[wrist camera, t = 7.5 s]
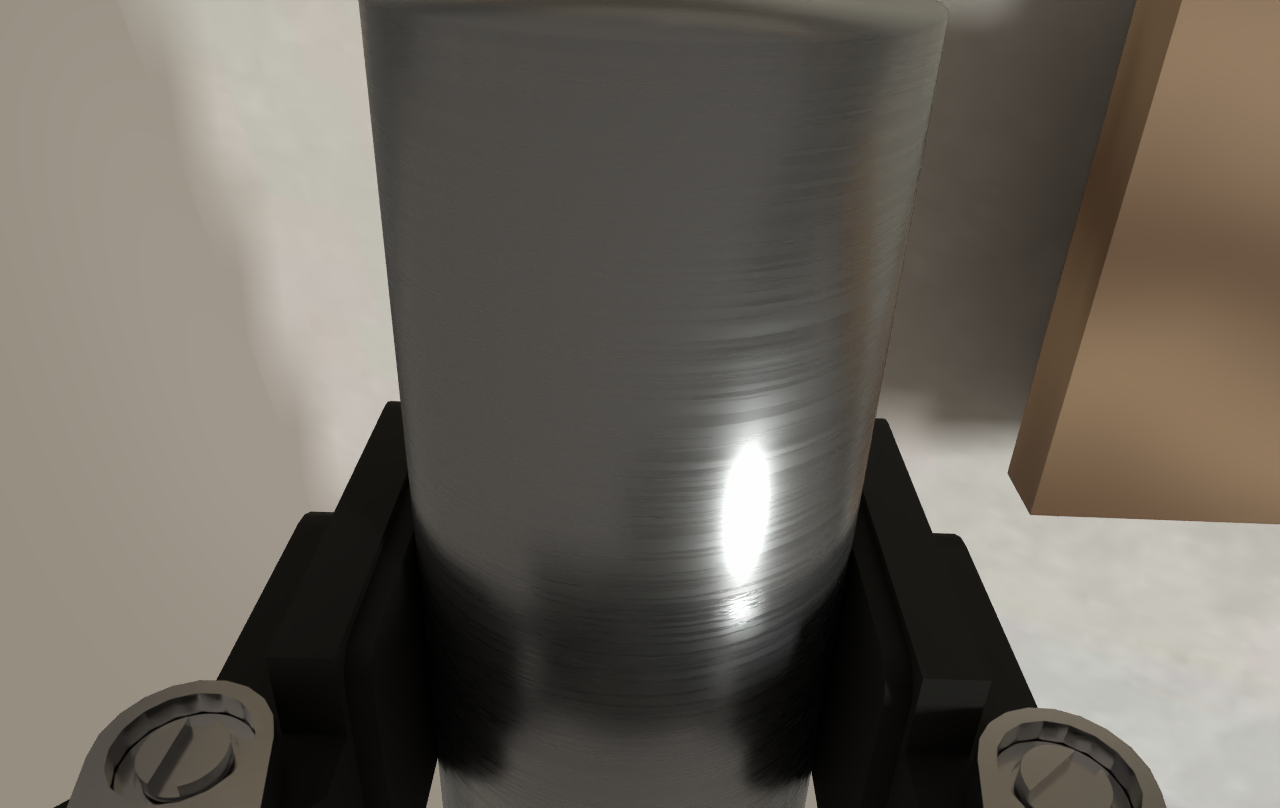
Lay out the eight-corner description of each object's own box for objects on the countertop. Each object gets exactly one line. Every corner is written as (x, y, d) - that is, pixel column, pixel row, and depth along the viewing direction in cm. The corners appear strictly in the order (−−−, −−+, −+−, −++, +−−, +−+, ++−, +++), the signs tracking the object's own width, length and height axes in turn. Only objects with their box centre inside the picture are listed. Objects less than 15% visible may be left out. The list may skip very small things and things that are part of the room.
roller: (437, -49, 9) (257, 23, 5) (892, -30, 8) (1025, 59, 5) (494, 826, 15) (430, 1132, 11) (760, 845, 14) (778, 1160, 11)
